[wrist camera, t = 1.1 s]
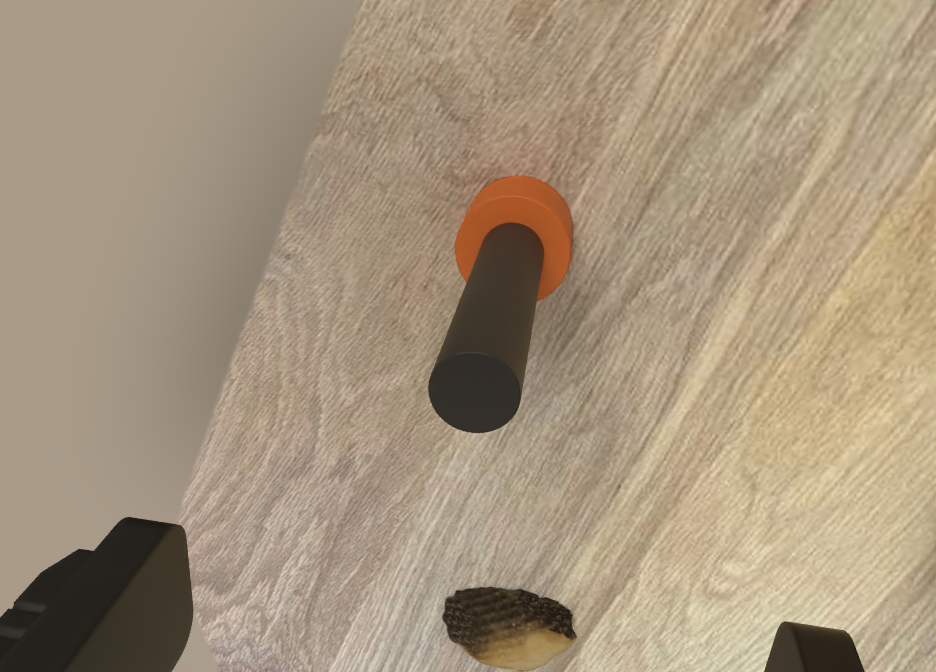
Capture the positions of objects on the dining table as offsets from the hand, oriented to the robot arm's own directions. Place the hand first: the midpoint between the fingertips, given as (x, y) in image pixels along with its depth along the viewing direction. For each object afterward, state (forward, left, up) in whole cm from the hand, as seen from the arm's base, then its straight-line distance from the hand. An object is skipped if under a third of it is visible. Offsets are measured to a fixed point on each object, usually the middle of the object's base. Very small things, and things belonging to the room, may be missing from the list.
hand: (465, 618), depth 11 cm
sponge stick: (+1, -2, -24) cm, 24 cm away
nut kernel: (+20, -11, -24) cm, 33 cm away
